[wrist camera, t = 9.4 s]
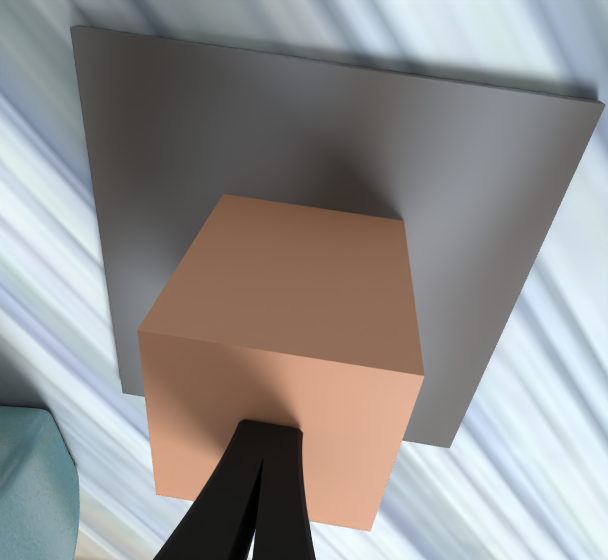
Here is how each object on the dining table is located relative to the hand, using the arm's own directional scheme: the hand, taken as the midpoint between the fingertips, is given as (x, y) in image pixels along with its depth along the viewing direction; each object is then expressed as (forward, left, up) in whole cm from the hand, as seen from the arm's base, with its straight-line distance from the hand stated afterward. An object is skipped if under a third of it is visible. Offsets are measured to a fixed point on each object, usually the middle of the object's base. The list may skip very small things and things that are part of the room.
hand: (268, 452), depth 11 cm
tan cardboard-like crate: (0, 0, -7) cm, 7 cm away
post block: (0, 0, -7) cm, 7 cm away
